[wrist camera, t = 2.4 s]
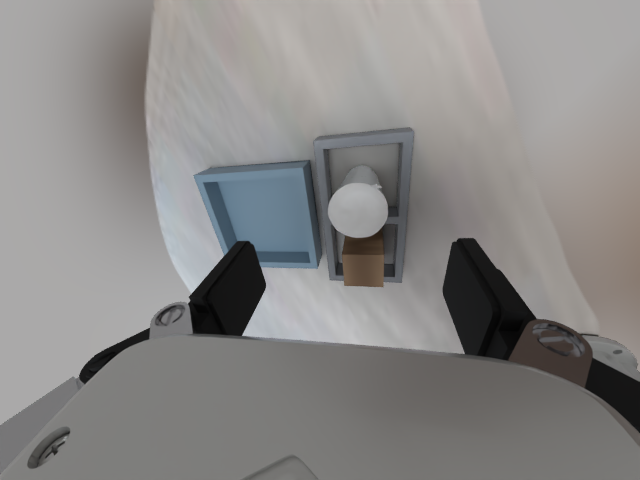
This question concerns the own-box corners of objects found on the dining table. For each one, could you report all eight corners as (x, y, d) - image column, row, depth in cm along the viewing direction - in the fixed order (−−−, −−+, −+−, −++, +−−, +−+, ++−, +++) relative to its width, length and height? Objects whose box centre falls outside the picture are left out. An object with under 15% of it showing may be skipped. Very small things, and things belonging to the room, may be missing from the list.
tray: (309, 160, 25) (302, 167, 22) (322, 254, 31) (317, 268, 28) (209, 168, 27) (193, 175, 25) (239, 253, 33) (228, 266, 31)
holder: (409, 127, 22) (414, 131, 19) (399, 269, 30) (401, 282, 28) (318, 136, 23) (313, 140, 21) (332, 268, 32) (329, 280, 30)
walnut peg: (381, 225, 27) (384, 255, 22) (381, 254, 29) (383, 287, 24) (347, 225, 28) (341, 254, 23) (348, 253, 30) (344, 285, 25)
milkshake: (396, 163, 23) (411, 202, 15) (369, 207, 26) (367, 259, 18) (356, 142, 23) (347, 169, 15) (332, 188, 26) (314, 233, 18)
